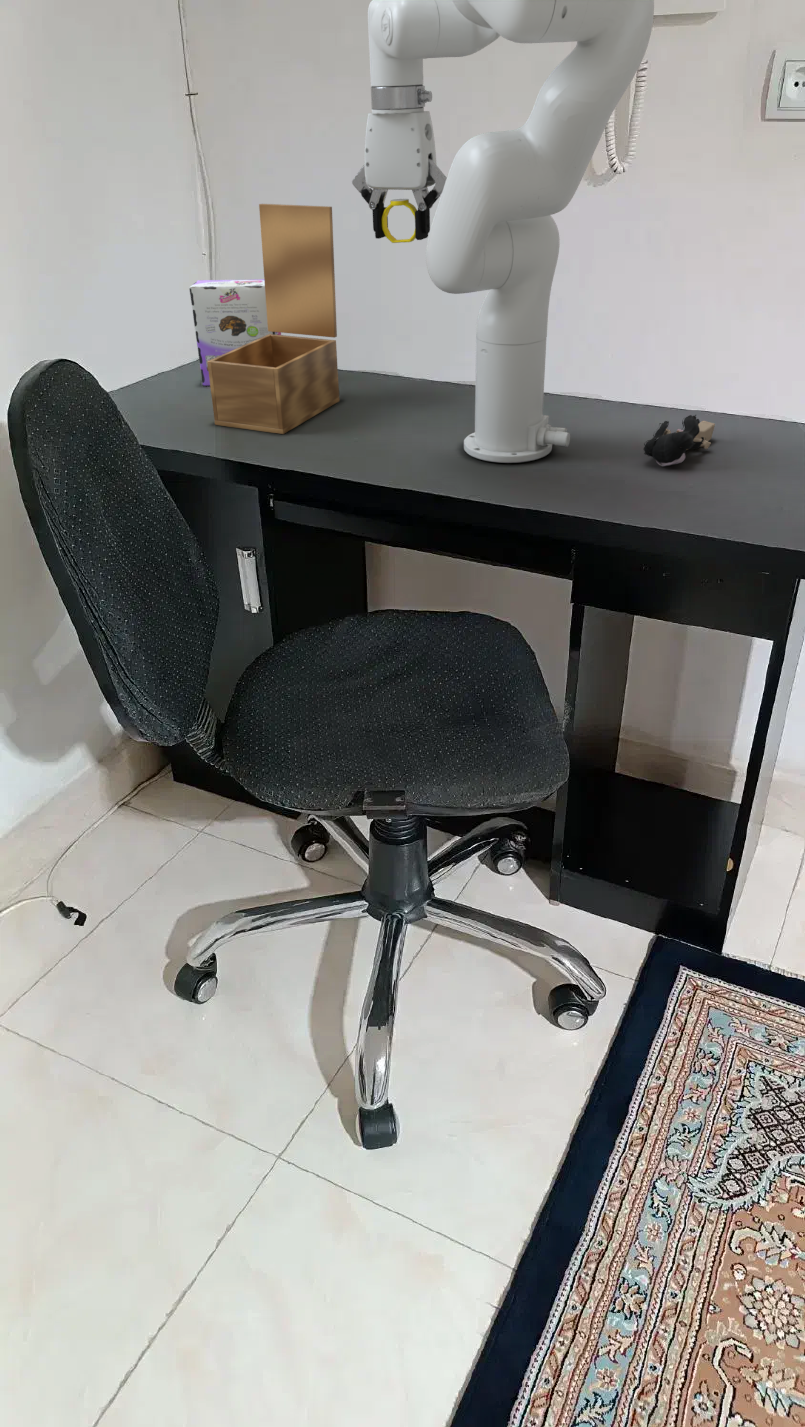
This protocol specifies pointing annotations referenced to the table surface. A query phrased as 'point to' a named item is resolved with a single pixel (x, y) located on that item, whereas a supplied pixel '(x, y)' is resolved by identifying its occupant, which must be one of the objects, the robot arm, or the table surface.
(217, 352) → the candy box
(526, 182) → the robot arm
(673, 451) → the toy figure
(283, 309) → the chest lid
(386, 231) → the watch
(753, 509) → the table surface
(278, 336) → the chest
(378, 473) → the table surface
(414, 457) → the table surface
